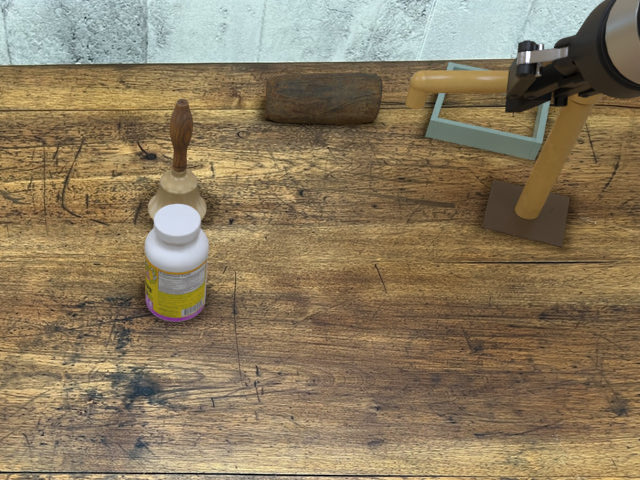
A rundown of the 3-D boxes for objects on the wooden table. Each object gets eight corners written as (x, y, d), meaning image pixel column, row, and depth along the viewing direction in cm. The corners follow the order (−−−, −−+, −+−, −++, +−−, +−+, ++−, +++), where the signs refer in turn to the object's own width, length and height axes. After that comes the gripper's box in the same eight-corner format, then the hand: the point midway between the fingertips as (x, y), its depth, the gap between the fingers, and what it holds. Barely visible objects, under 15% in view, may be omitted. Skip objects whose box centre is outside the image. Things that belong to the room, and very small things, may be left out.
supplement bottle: (151, 279, 94) (151, 192, 83) (208, 287, 93) (215, 200, 83) (140, 323, 90) (138, 237, 80) (199, 331, 89) (205, 246, 79)
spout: (591, 94, 86) (613, 48, 82) (601, 115, 84) (624, 69, 80) (401, 93, 87) (414, 48, 83) (406, 114, 85) (420, 69, 81)
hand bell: (218, 198, 102) (227, 84, 89) (201, 243, 97) (208, 130, 84) (154, 186, 103) (154, 73, 90) (134, 230, 99) (131, 117, 86)
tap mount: (566, 204, 99) (631, 81, 86) (558, 253, 95) (626, 132, 81) (489, 186, 102) (541, 64, 88) (478, 234, 97) (531, 112, 83)
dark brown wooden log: (368, 102, 112) (379, 57, 107) (377, 134, 108) (389, 89, 103) (259, 104, 113) (264, 60, 107) (264, 136, 109) (270, 92, 103)
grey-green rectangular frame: (543, 105, 111) (553, 82, 108) (531, 166, 104) (542, 143, 101) (441, 85, 114) (449, 61, 111) (422, 142, 107) (430, 119, 104)
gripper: (554, 89, 57) (443, 137, 81) (746, 90, 57) (578, 138, 80) (565, -25, 56) (448, 57, 79) (761, -26, 56) (586, 58, 79)
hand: (513, 98), depth 80 cm, fingers closed
